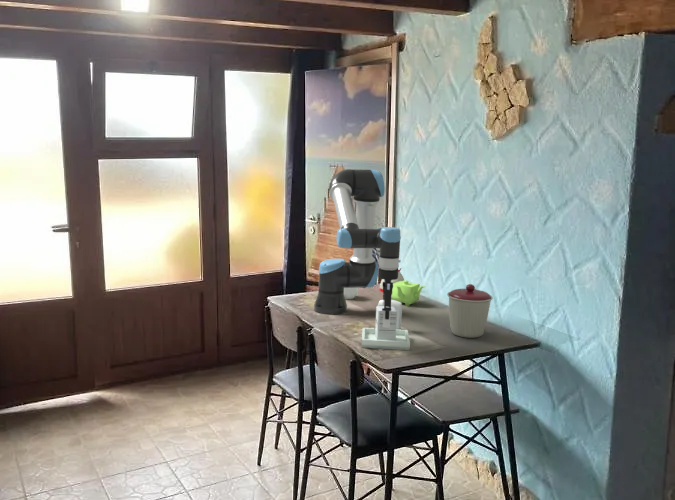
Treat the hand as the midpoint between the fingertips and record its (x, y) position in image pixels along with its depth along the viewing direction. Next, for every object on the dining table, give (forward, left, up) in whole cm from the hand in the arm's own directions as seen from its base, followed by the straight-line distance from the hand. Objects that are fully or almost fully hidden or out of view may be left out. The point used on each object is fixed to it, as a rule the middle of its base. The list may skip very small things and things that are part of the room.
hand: (385, 322), depth 243 cm
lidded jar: (-17, +69, -8) cm, 71 cm away
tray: (0, 0, -8) cm, 8 cm away
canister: (+34, +16, -8) cm, 38 cm away
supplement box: (0, -1, -7) cm, 7 cm away
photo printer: (+2, +19, -8) cm, 21 cm away
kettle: (+11, +63, -8) cm, 64 cm away
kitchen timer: (+6, +89, -8) cm, 89 cm away
